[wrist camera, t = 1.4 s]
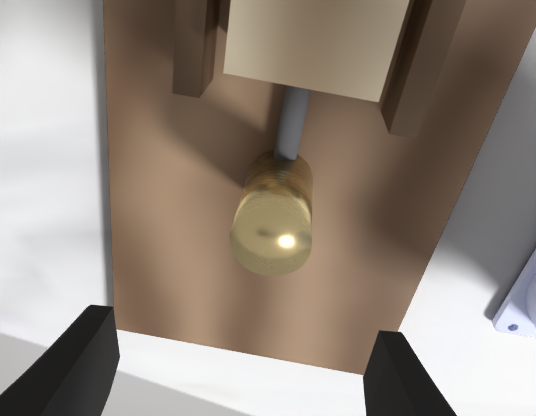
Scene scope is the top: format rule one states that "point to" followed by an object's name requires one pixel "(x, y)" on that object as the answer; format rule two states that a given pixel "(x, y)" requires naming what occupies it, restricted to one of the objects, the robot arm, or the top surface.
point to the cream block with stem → (300, 106)
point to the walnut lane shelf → (319, 160)
